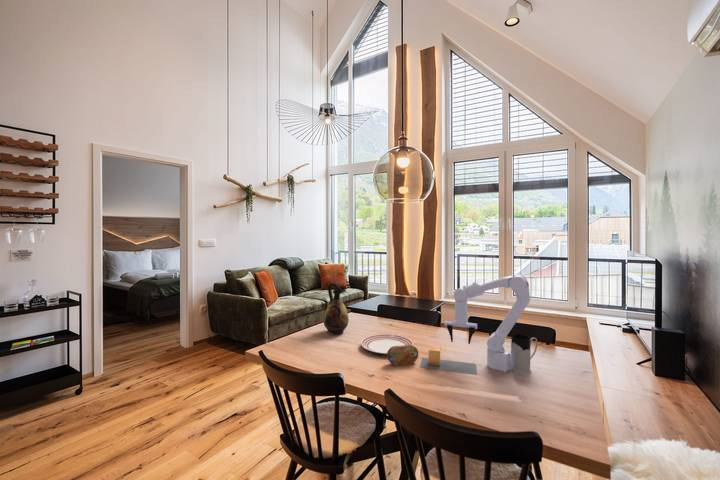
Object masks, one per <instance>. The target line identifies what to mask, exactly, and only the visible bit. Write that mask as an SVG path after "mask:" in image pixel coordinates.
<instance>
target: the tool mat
mask: <svg viewBox="0 0 720 480" xmlns="http://www.w3.org/2000/svg"><path fill="white" fill-rule="evenodd" d="M419 368H420V369H427V370H436V371H442V372H452V373H461V374H467V375H469V374H470V375H474V376H477V375H478V369H477V364H476V363H473V362H465V361H457V360H456V361H455V360H450V359H448V360H447V359H440V366H435V365H428V357H421V360H420V365H419Z"/></svg>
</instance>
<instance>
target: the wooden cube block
mask: <svg viewBox="0 0 720 480" xmlns="http://www.w3.org/2000/svg"><path fill="white" fill-rule="evenodd" d="M441 353H442V352H441V347H437V346H429V348H428V356H427V358H428V365H435V366H440V360H441Z"/></svg>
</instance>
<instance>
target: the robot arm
mask: <svg viewBox="0 0 720 480" xmlns="http://www.w3.org/2000/svg"><path fill="white" fill-rule="evenodd" d="M497 288H504V289H505V288H506V289H511V291H512V292H513V293H514V296H515V298H516V301H515V302H514V303H513V305H512V307H511V308H510V310H509V311H508V312H507V314H506V316H505V317H504V318H503V320H502V322H501V323H500V324H499V326H498V327H497V329H496V331H494V332H492V333H491V334H490V336H489V338H488V339H487V341H486V346H487V347H486V348H487V349H486V366H487V367H488V368H489V369H492V370H497V371H501V372H504V373H506V372H507V371H511V352H510V353H509V352H507V351H506V350H505V347H504V344H505V342H506V341H505V340H506V339H507V336H508V335H509V334H510V331H512V328H514V326H515V325H516V323H517V321H518V320H519V318H520V317H521V315H522V314H523V312H524V311H525V310H526V307H528V305H529V304H530V301H531V295H530V284H529V281H528V279H527V277H526V276H524V275H523V274H519V273H518V274H514V275H509V276H507V275H506V276H504V277H501V278H498V279H495V280H492V281H489V282H486V283H480V282H472V284H469V285H467V286H466V285H463V286H462V287H459V288H457V289H456V290H455V291H454V292H453V298H454V320H453V321H450V320H445V321H444V327H446V329H447V332H448V334H449V336H450V342H451V343H454V341H453V339H454V335H453V328H454V327H457V328H465V329H467V328H468V338H467V339H468V341H467V342H468V345H470V344H471V340H472V337H473V335H474V334H475V331H476V330H477V329H478V323H475V322H474V323H473V322H468V299H473V298H476V297H480V296H483V295H484V293H485V292H486V291H490V290H494V289H497ZM511 372H512V371H511Z"/></svg>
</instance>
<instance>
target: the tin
mask: <svg viewBox="0 0 720 480" xmlns="http://www.w3.org/2000/svg"><path fill="white" fill-rule="evenodd" d="M386 358H387V361H388V362H389V363H390V364H391V365H392V366H402V365H410V364H413V363H415V362H416V361H417V360H418V358H419V350H418V349H417V347H416V346H414V345H413V346H412V345H400V346H393V347H391V348H390V349H389V350H388V352H387V354H386Z"/></svg>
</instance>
